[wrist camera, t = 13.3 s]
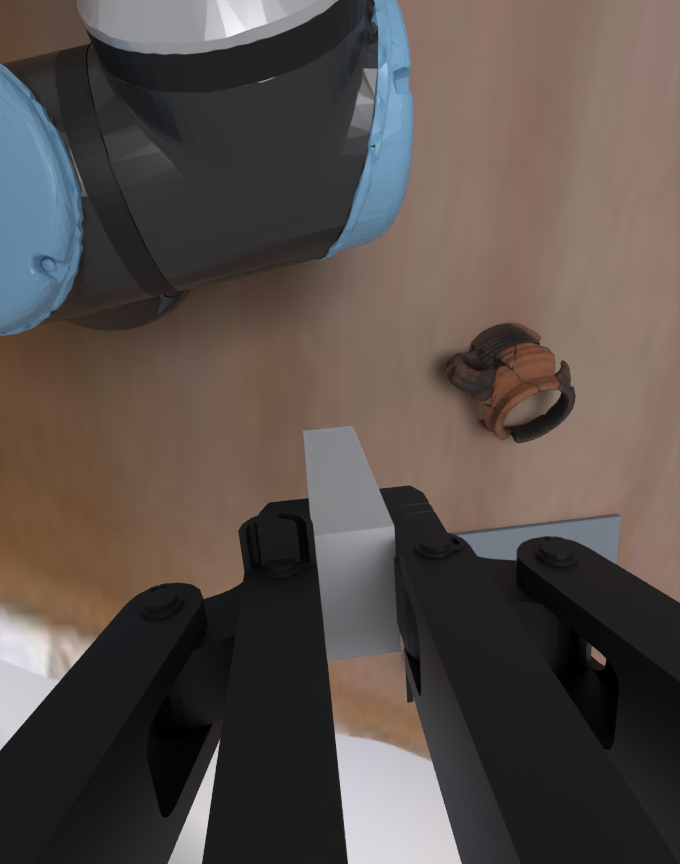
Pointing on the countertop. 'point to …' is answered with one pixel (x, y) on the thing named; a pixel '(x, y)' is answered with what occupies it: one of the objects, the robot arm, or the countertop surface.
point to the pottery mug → (512, 379)
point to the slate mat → (586, 531)
